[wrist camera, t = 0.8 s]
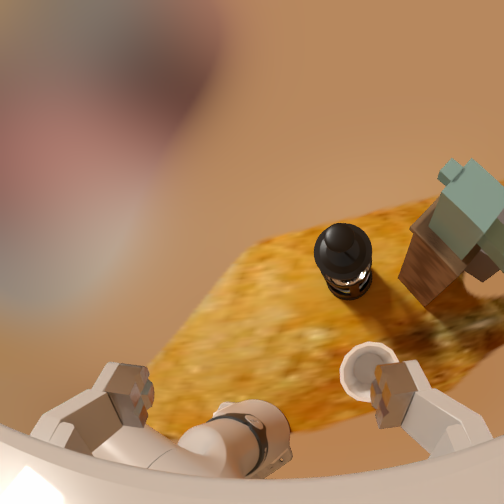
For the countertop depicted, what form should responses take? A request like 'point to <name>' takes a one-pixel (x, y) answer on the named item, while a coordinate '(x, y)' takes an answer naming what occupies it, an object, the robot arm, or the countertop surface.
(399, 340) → the countertop surface
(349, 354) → the foam cup
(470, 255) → the stand
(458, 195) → the green mallet
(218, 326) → the countertop surface
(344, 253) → the french press
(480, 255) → the riser
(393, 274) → the countertop surface
